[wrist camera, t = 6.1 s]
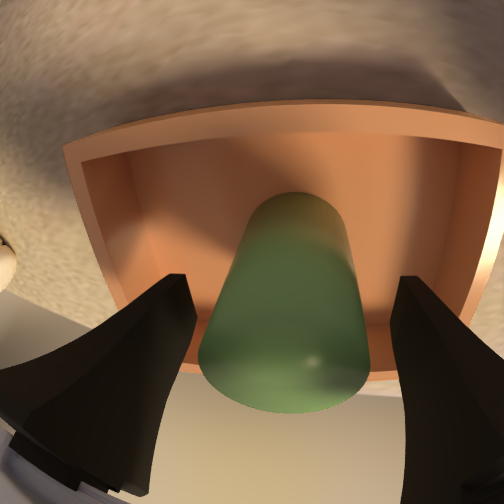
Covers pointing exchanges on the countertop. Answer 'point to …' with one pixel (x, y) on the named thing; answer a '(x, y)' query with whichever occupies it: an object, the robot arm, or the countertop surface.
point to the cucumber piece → (289, 312)
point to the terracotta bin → (297, 180)
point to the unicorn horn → (6, 265)
